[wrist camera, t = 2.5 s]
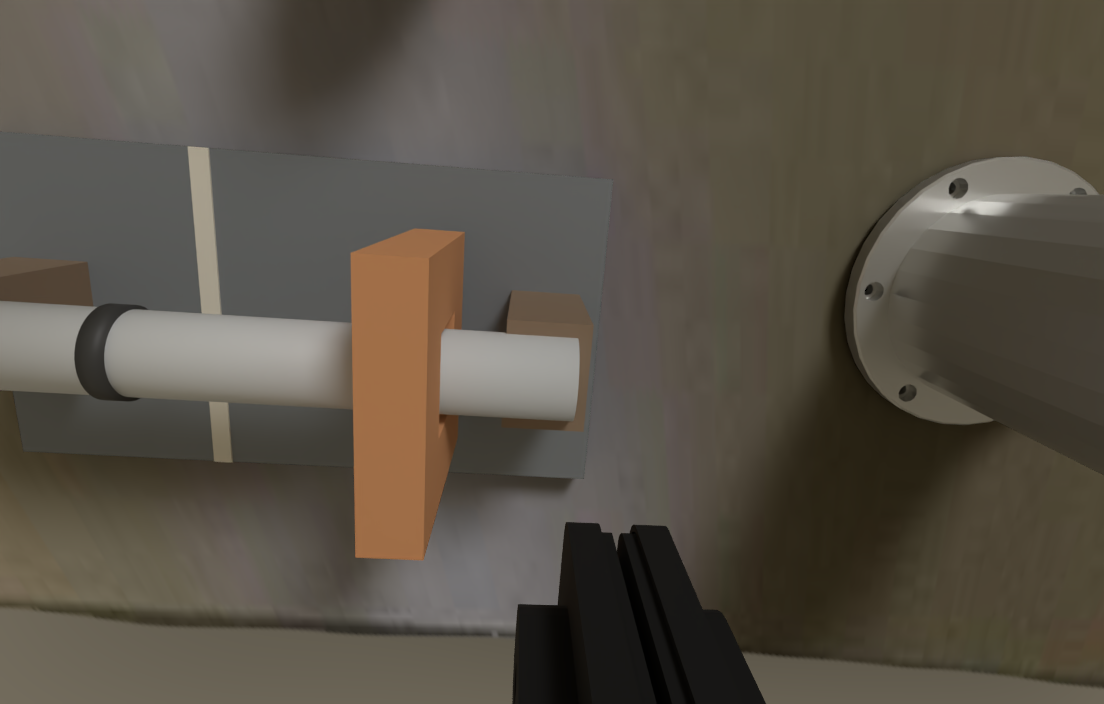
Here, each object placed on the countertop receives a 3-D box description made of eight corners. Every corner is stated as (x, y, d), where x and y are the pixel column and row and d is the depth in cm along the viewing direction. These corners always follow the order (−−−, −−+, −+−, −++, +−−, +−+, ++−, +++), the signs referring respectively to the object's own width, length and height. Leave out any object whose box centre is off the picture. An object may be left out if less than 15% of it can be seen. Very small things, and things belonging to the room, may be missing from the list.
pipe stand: (608, 179, 27) (648, 177, 18) (581, 465, 30) (602, 579, 22) (-2, 132, 25) (-287, 103, 16) (48, 438, 29) (-162, 548, 20)
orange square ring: (464, 231, 24) (429, 258, 15) (457, 437, 26) (423, 560, 18) (414, 228, 24) (350, 253, 15) (412, 435, 26) (355, 557, 18)
